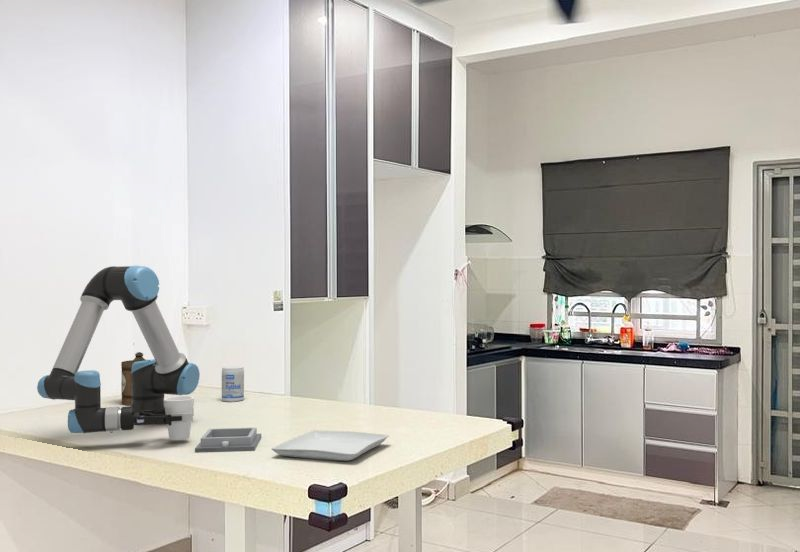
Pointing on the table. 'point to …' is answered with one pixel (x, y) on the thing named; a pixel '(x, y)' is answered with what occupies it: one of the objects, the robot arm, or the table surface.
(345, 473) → the table surface
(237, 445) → the tray
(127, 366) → the wooden container
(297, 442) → the square plate
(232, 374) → the supplement tub
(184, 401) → the foam cup
